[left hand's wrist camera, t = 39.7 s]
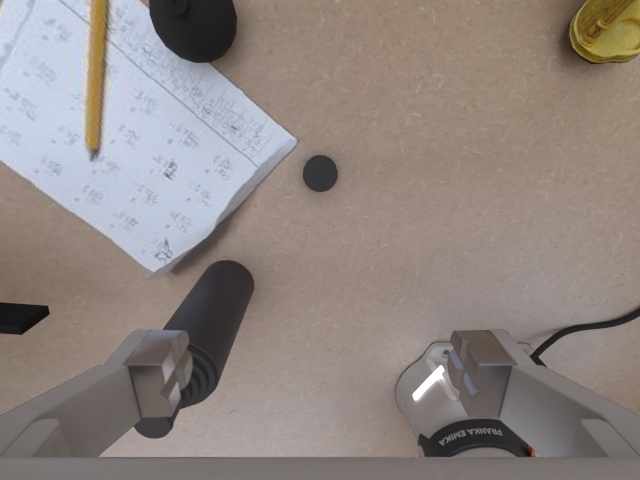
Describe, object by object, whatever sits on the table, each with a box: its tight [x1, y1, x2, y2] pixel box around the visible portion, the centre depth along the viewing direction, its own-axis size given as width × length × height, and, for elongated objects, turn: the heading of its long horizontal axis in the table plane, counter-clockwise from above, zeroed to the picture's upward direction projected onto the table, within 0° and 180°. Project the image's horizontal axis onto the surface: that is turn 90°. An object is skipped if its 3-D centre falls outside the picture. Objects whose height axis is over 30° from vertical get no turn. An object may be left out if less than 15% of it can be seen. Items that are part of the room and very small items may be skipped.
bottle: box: [134, 261, 254, 439], centre depth 37 cm, size 7×7×23 cm
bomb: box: [149, 0, 237, 63], centre depth 31 cm, size 8×8×12 cm
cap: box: [303, 155, 338, 192], centre depth 41 cm, size 4×4×2 cm
